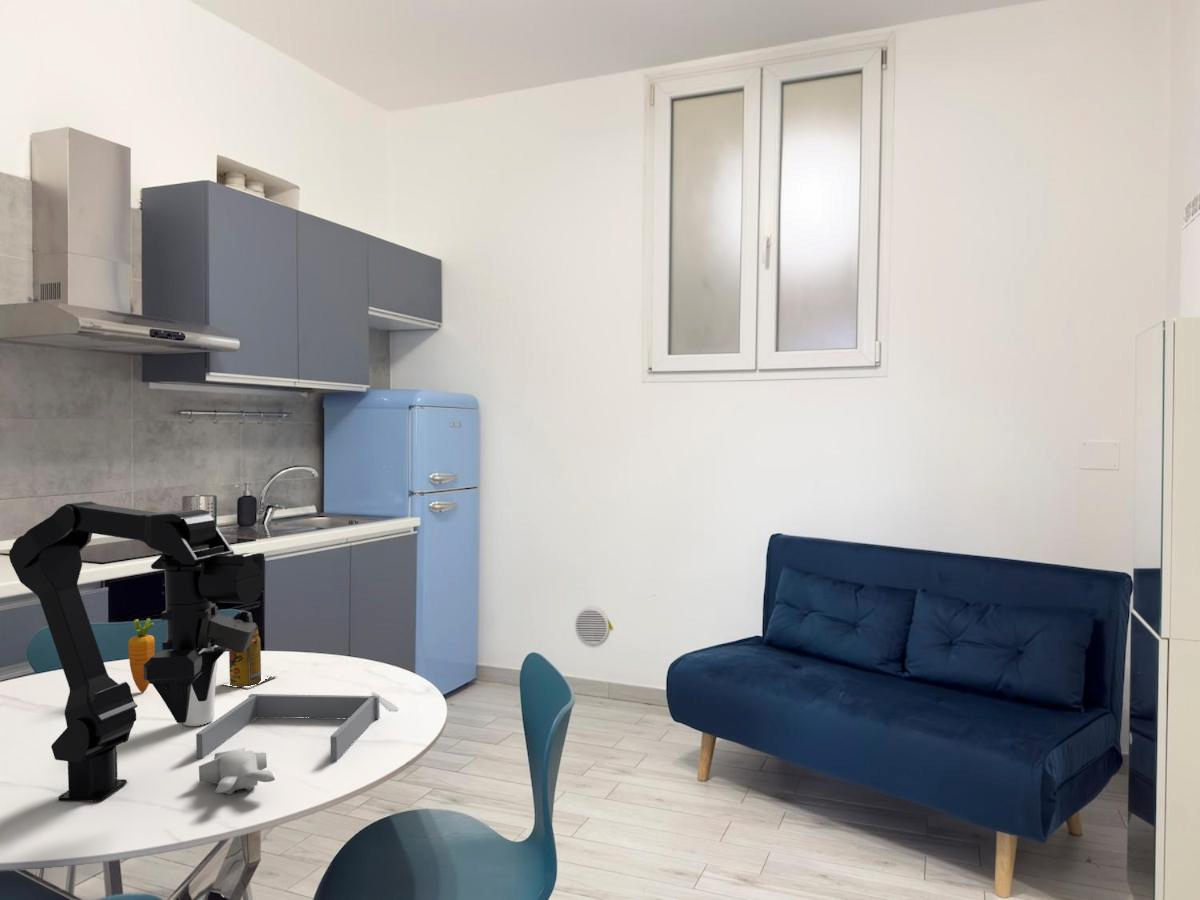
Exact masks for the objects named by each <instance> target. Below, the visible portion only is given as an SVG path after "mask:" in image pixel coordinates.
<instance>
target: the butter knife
mask: <svg viewBox="0 0 1200 900" xmlns="http://www.w3.org/2000/svg"><path fill="white" fill-rule="evenodd" d="M370 693H371V694H370V695H371V696H379V704H380V703H381V704H382V705H383V706H384V707H385V708H386V709H385V708H384V707H383V706H382V705H381V704H380V705H381V706H382V707H383V708H384V709H385V710H387V709H388V710H389V711H388V710H387V711H388V712H391V711H395V712H398V711H399V707H398V706H397V705H396V704H394V703H393V702H392V701H390V700H388V699H386V698H385V697H383V696H382V695H381V694H379V693H377V692H376V691H373V692H370Z"/></svg>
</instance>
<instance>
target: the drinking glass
mask: <svg viewBox="0 0 1200 900" xmlns="http://www.w3.org/2000/svg"><path fill="white" fill-rule="evenodd" d="M217 670H218V660H217V661H216V663H215V667H214V671H213V675H212V679H211V684H210V688H209V692H208V697H207V700H206V701H198V699H197V697H196V695H195V692H194V690H193V687H192V684H191V691H190V699H189V707H188V714H187V720H186V722H185V723H182V724H183V726H186V727H200V725H201V726H204V724H205V725H207V723H208V724H209V723H210V724H211V723H212V721H214V719H215V698H216V686H217V685H216V684H217V683H216V682H217V672H218V671H217Z"/></svg>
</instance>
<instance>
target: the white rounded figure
mask: <svg viewBox="0 0 1200 900" xmlns="http://www.w3.org/2000/svg"><path fill="white" fill-rule="evenodd" d="M267 766H268V763H267V753H266V752H254V751H253V750H247V751H246V749H245V747H240V748H236V749H231V750H225V751H222V752H221V751H220V752H216V753H214V757H213V759H212V760H210V761H208V762H206V763H203V764H201V765H199V766H198V776H199V777H198V779H199V783H213V784H217V787H216V789H215V793H217V794H219V793H222V794H224V793H225V794H226V795H232V794H233V793H234V792H235V791H237V790H241V789H245V790H246V791H251V790H253V788H255V786H258V782H261V783H270V782H273V781H275V780H276V778H275V776H274V775H273V772H272V771H270V770H265V769H266V768H268V767H267Z"/></svg>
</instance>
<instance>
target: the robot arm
mask: <svg viewBox="0 0 1200 900" xmlns="http://www.w3.org/2000/svg"><path fill="white" fill-rule="evenodd" d="M93 534H96V535H102V536H107V537H108V536H109V537H115V538H119V539H127V540H133V541H139V542H142V543H144V544H145V545H146V546H148V548H149V549H151V550H153V551H156V552H158V553H161V554H160V556H159V557H158V558H157V559H156V560H155V561H154V562H153V563H151V565H150V568H151V569H152V570H163V571H164V580H165V581H164V582H165V583H164V586H165V610H164V611H162V612H161V615H160V619H161V621H166V639H165V640H164V641H163V642H162V643H161V644H162V645H161V647H162V650H160V651H158V652H156V653H155V655H154V656H153V657H151V658H150V659H149V660H148V661H147V662H146V663H145V664H144V665H143V667H144V679H145V680H148V681H149V685H152V686H153V688H154V689H155V690H156V692H157V693H158V694H159V696H160V697H161V699H162V701H163V702H164V703H165V705H166V706H167V709H168V710H169V712H170V713H171V715H172V717H173V718H174V721H175V722H176V723H177V724H183V723H185V722H186V720H187V714H188V707H189V699H190V691H191V684H192V687H193V690H194V692H195V695H196V697H197V699H198V701H206V700H207V697H208V692H209V688H210V684H211V679H212V675H213V671H214V667H215V663H216V661H217V662H218V659H220V657H221V656H223V654H225V653H226V652H227V650H229V649H231V650H232V651H233V652H236V653H244V652H245V650H246V649H247V648H249V646H250V644H251V641H252V638H253V635H254V633H255V632H256V624H257V623H256V622H254V621H253V615H252V612H250V611H247V610H244V609H241V610H240V611H239V612H237V613H236V615H235V616H233V617H232V615H227V616H226V615H222V614H219V607H218V606H217V605H216V604H217V603H222V604H223V603H225V604H226V603H227V604H228V603H229V604H243V605H247V604H249V605H250V604H253V603H254V602H256V601H257V600H258V598H259V597H260V596H261V594H262V592H263V588H264V581H265V579H264V578H265V577H264V574H263V573H262V570H261V567H260V566H259V565H258V564H257V563H256V562H254V559H253V558H254V557H253V556H254V555H253V554H252V553H251V552H243V553H239V554H237V553H235V552H234V549H232V547H231V546H230V544H229V542H228V541H227V539H226V538H225V537H224V535H223V533H222V532H221V530H220V529H219V527H218V526H217V524H216V522H215V518H213V516H212V513H210V512H209V511H208V510H206V509H200V508H199V509H187V510H186V509H185V510H176V511H165V512H162V511H161V512H155V511H148V510H143V509H135V508H127V507H126V508H125V507H119V506H113V505H107V504H99V503H97V502H93V501H82V502H81V501H80V502H72V503H64V504H63V505H62V506H60V507H59V508H58V509H56V510H55V512H54V513H53V514H52V515H50V516H48V517H47V518H46V519H44V520H42V521H41V522H40V523H37V524H36V525H34V526H33V527H31V528H29V529H28V530H27V531H26V532H25V533H24V534H23V535H20V536H19V537H17V538H16V539H15V540H14V542H13V544H12V547H11V549H10V550H9V551H8V552H9V553H8V555H9V556H8V558H9V561H10V564H11V566H12V568H13V570H14V572H15V574H16V576H17V578H18V580H19V582H20V583H21V584H22V585H24V586H25V587H26V588H27V589H28V590H30V591H31V592H32V593H33V594H35V595H36V596H37V598H38V599H39V602H40V605H41V607H42V611H43V613H44V616H45V621H46V622H47V625H48V628H49V632H50V634H51V638H52V640H53V644H54V646H55V649H56V652H57V654H58V658H59V662H60V664H61V667H62V670H63V673H64V676H65V679H66V681H67V685H68V688H69V693H68V697H67V699H66V704H65V708H64V717H65V723H66V728H65V729H64V730H63V732H62V733H61V734H60V735H59V736H58V737H57V738H56V739H55V741H54V742H53V743H52V744H51V746H50V747H51V750H52V754H53V757H54V760H56V761H64V762H67V781H68V783H67V784H68V790H66V791H64V792H63V793H61V794H60V795H59V796H58V797H57V798H58V801H60V802H61V801H64V802H65V801H68V802H69V801H70V802H73V801H74V802H101V801H103V800H106V799H107V798H108V797H109V796H111V795H112V794H114V793H115V792H117V791H118V790H120V789H121V788H122V787H123V786H125V785H126V784H128V780H127V779H125V778H122V779H121V778H119V779H118V752H117V746H119V745H121V744H124V743H127V742H128V741H129V738H130V734H131V732H132V731H131V730H132V728H133V727H134V725H135V722H136V721H137V711H136V708H138V703H136V701H135V700H134V697H133V693H132V689H131V686H130V685H129V683H128V682H127V681H123V682H121V683H118V682H116V680H114V679H112V678H111V677H110V675H109V673H108V672H107V668H106V665H105V663H104V659H103V657H102V654H101V650H100V648H99V645H98V642H97V639H96V636H95V633H94V630H93V627H92V625H91V622H90V619H89V616H88V612H87V610H86V607H85V604H84V601H83V598H82V594H81V592H80V589H79V585H78V584H79V583H78V581H79V579H80V575H81V571H82V567H83V559H82V556H81V555H82V554H81V551H82V550H84V549H85V547H86V546H87V545H88V544H90V542H91V541H92V536H93Z"/></svg>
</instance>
